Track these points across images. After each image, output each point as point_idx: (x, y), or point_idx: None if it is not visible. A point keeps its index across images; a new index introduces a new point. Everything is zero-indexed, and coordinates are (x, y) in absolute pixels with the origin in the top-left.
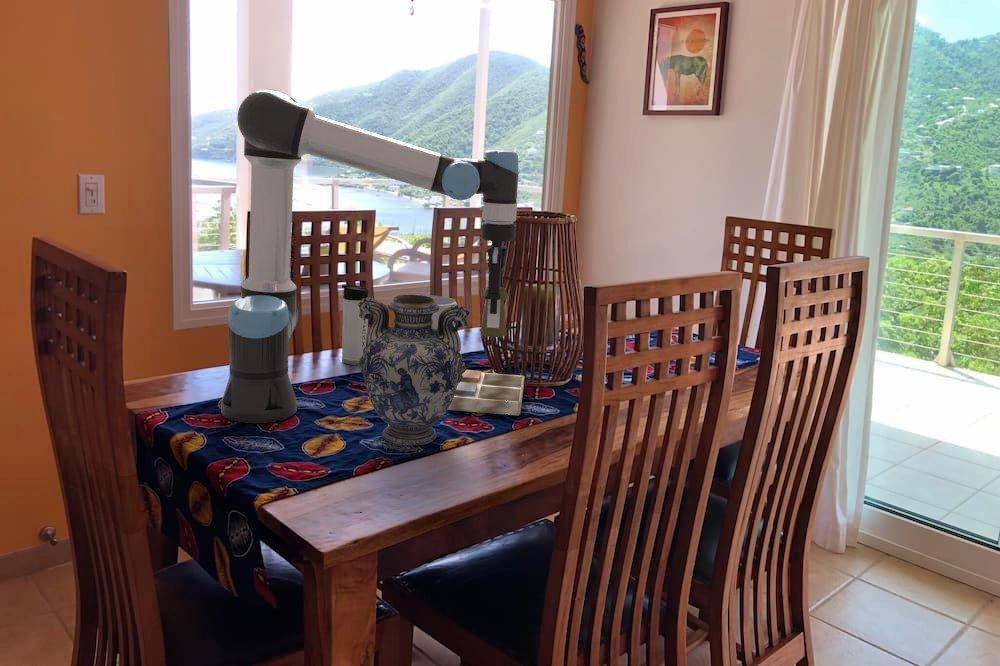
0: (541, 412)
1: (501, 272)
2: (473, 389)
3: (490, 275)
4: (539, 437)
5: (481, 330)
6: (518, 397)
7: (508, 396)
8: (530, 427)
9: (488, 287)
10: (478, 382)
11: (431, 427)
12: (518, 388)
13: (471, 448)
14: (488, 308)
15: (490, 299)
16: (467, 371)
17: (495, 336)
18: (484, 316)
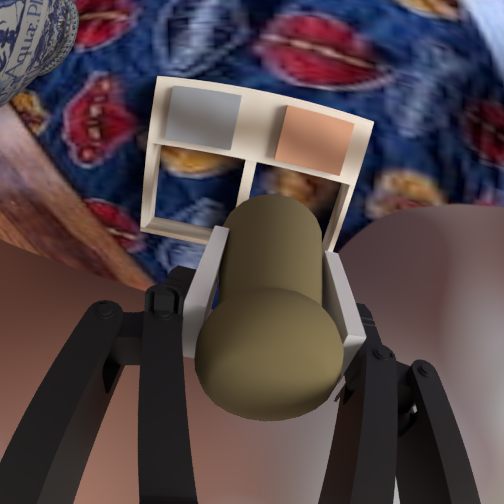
0: (173, 260)
1: (322, 493)
2: (179, 136)
3: (29, 422)
4: (66, 234)
5: (266, 201)
6: None
7: None
8: (99, 228)
9: (65, 345)
10: (274, 156)
11: (48, 64)
12: None
13: (15, 133)
14: (197, 272)
15: (185, 311)
16: (335, 138)
17: None
18: (256, 236)
